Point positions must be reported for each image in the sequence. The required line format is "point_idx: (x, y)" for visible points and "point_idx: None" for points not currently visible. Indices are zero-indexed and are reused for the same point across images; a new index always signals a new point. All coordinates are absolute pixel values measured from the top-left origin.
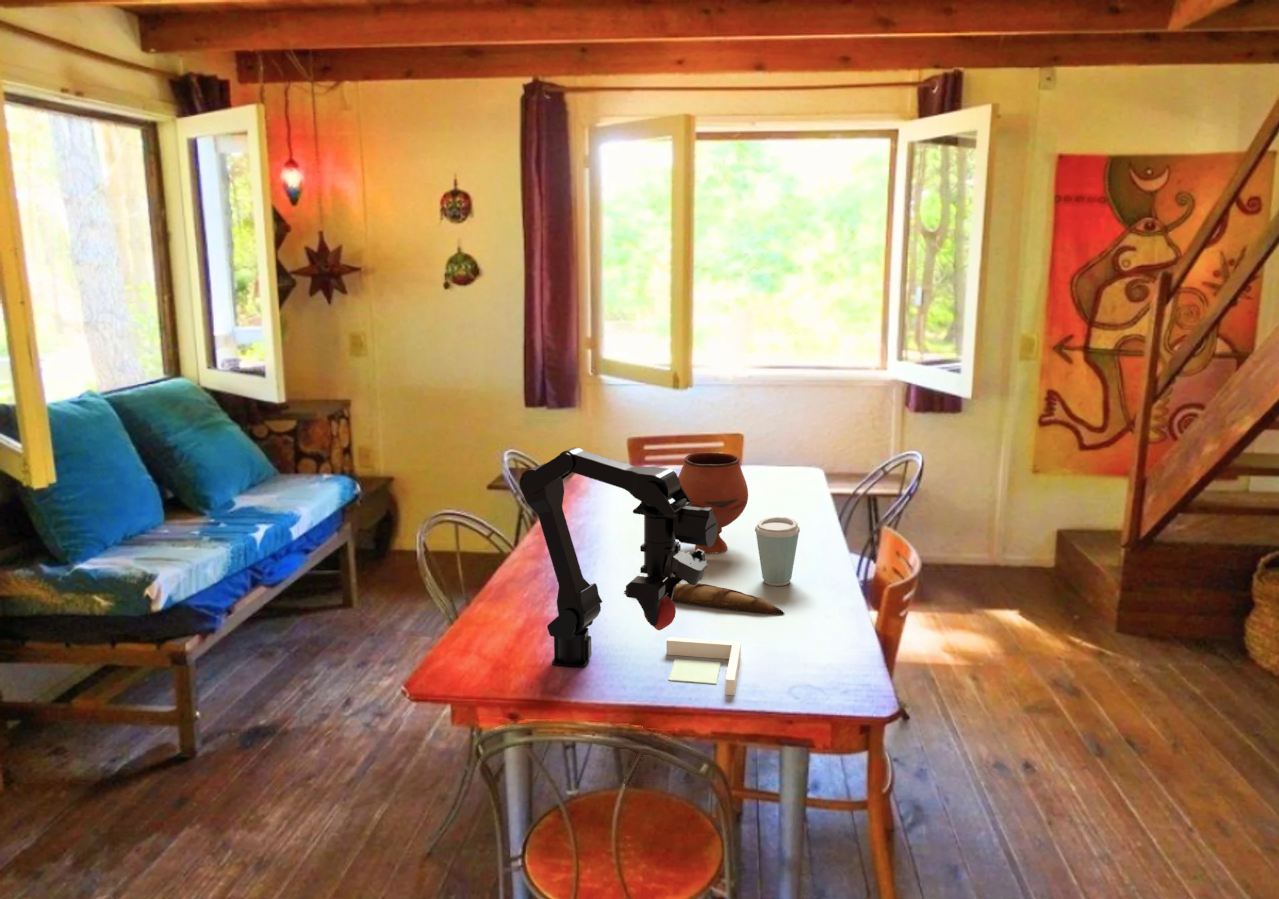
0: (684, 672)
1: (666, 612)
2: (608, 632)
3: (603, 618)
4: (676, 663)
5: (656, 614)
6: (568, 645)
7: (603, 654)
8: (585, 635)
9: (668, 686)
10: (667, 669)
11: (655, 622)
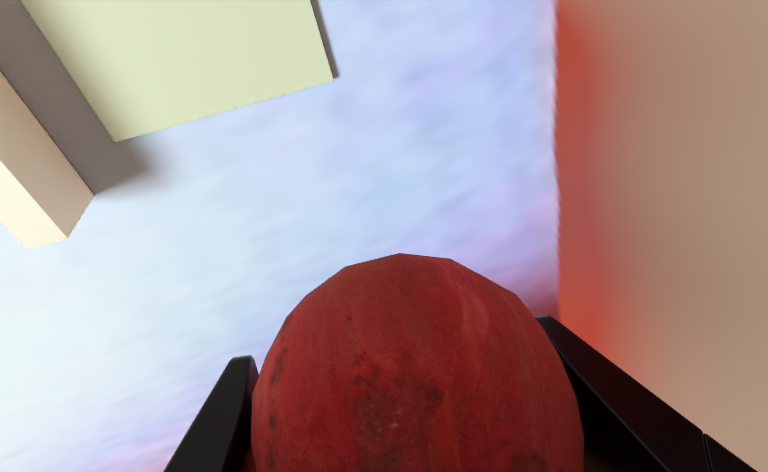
0: (222, 36)
1: (551, 369)
2: (94, 411)
3: (13, 460)
4: (153, 116)
5: (665, 405)
6: None
7: (254, 352)
8: None
9: (387, 54)
10: (229, 129)
11: (572, 340)
